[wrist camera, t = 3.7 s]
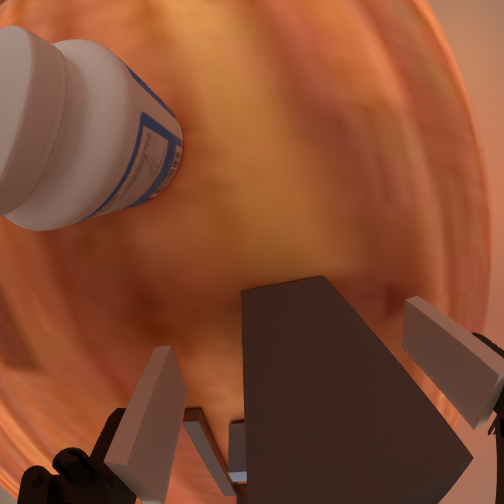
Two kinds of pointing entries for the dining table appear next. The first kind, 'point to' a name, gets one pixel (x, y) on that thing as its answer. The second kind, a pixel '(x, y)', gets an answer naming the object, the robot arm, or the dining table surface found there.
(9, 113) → the pill bottle
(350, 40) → the dining table surface
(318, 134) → the dining table surface
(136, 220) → the dining table surface
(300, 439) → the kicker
